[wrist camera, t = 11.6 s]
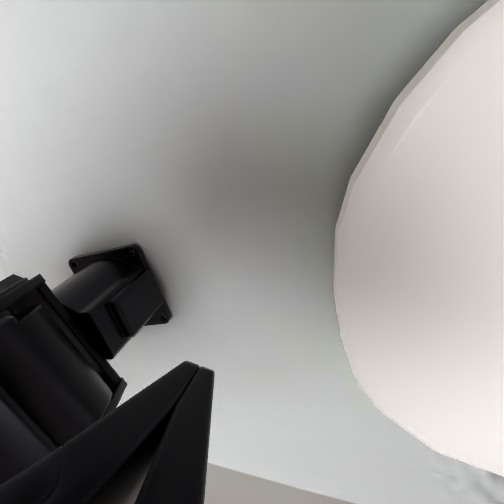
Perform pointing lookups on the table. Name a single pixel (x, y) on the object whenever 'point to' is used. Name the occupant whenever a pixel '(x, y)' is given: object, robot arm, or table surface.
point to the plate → (433, 251)
